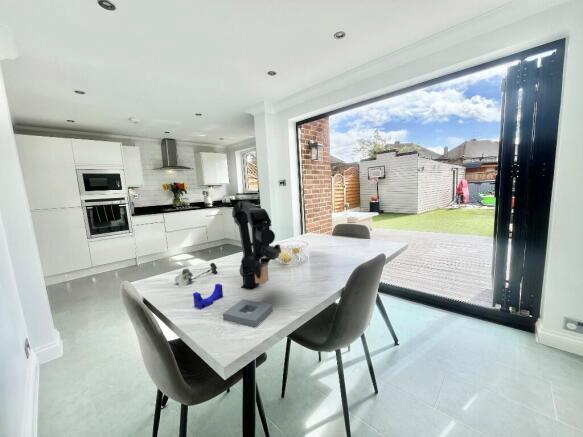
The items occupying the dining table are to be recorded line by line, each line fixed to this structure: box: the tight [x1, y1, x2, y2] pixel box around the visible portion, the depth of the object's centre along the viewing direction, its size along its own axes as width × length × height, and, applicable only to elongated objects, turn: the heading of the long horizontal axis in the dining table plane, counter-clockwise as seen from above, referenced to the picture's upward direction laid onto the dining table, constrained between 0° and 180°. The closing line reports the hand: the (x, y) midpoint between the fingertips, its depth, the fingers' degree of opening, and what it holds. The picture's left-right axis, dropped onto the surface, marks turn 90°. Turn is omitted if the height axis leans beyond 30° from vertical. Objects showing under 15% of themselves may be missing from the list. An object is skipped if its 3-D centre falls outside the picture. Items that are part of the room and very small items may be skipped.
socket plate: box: [222, 298, 274, 328], centre depth 90 cm, size 14×12×2 cm
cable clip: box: [192, 283, 224, 310], centre depth 102 cm, size 12×4×6 cm, turn 142°
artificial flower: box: [174, 262, 218, 287], centre depth 130 cm, size 9×22×10 cm, turn 135°
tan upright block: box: [255, 262, 270, 285], centre depth 100 cm, size 4×4×8 cm
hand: (261, 276), depth 100 cm, fingers closed on tan upright block, 4 cm apart
